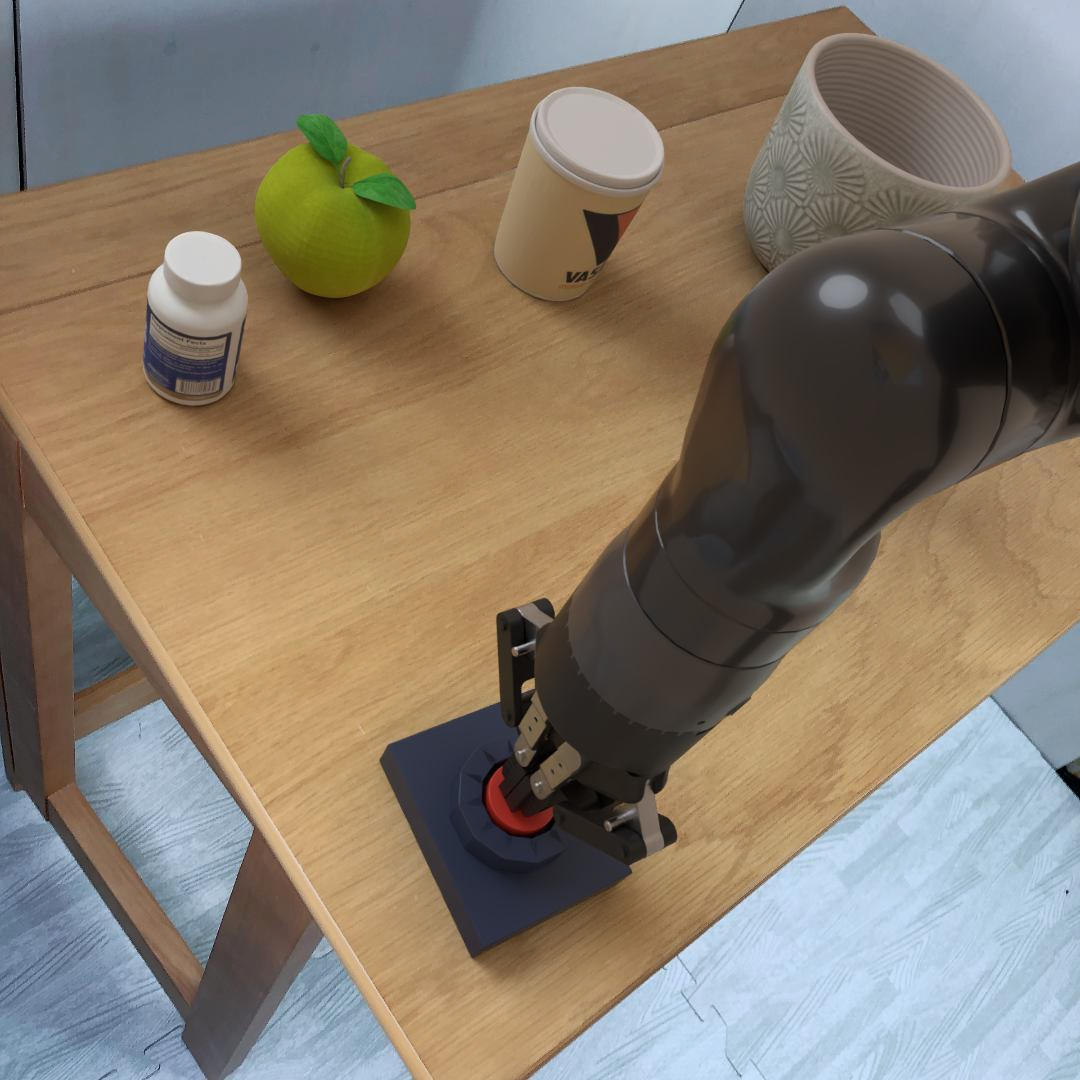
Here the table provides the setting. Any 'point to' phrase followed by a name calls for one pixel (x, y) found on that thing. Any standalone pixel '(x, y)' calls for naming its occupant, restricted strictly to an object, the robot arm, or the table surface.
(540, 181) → the coffee cup
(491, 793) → the button
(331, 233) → the fruit
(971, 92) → the planter
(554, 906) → the button block
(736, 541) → the robot arm
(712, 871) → the table surface
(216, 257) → the pill bottle
